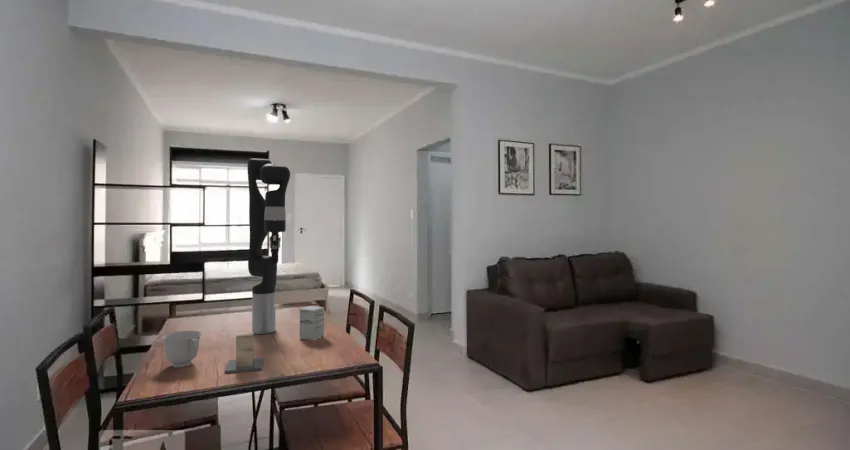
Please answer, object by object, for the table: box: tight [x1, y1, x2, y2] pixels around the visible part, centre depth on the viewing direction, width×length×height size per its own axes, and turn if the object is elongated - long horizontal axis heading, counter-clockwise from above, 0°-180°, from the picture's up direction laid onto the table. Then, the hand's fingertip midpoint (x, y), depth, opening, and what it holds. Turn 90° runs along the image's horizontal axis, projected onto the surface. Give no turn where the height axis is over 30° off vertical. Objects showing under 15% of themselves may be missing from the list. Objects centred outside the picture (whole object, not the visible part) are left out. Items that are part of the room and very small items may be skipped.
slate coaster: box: [224, 357, 264, 374], centre depth 147 cm, size 11×11×1 cm
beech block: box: [235, 331, 255, 367], centre depth 147 cm, size 5×5×10 cm
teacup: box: [161, 330, 203, 368], centre depth 148 cm, size 12×15×10 cm
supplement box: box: [298, 305, 325, 341], centre depth 183 cm, size 7×7×13 cm
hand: (275, 262), depth 164 cm, fingers open, 8 cm apart
